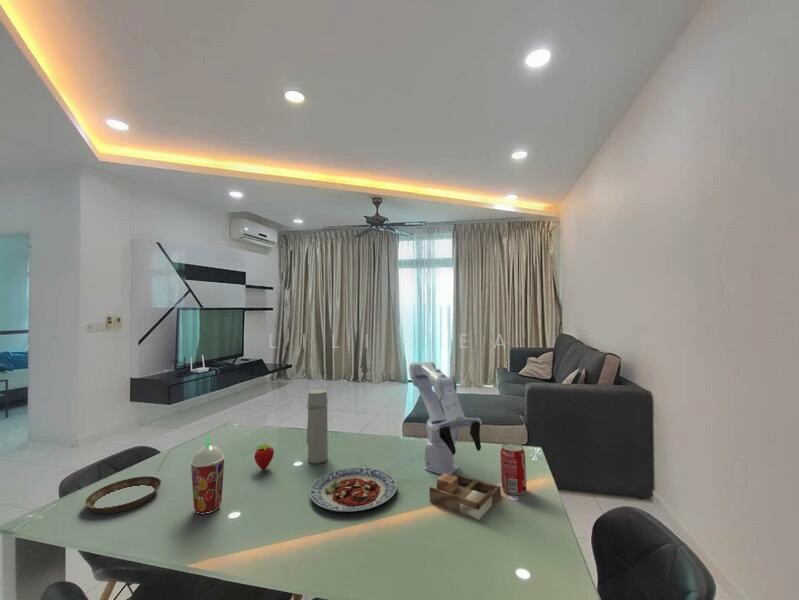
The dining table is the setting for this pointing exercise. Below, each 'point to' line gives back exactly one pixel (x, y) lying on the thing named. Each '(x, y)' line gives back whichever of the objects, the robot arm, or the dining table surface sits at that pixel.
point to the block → (447, 483)
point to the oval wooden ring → (122, 484)
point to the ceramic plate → (353, 489)
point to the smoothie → (207, 478)
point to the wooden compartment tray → (467, 496)
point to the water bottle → (317, 426)
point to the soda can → (513, 469)
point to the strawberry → (264, 456)
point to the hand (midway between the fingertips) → (466, 451)
